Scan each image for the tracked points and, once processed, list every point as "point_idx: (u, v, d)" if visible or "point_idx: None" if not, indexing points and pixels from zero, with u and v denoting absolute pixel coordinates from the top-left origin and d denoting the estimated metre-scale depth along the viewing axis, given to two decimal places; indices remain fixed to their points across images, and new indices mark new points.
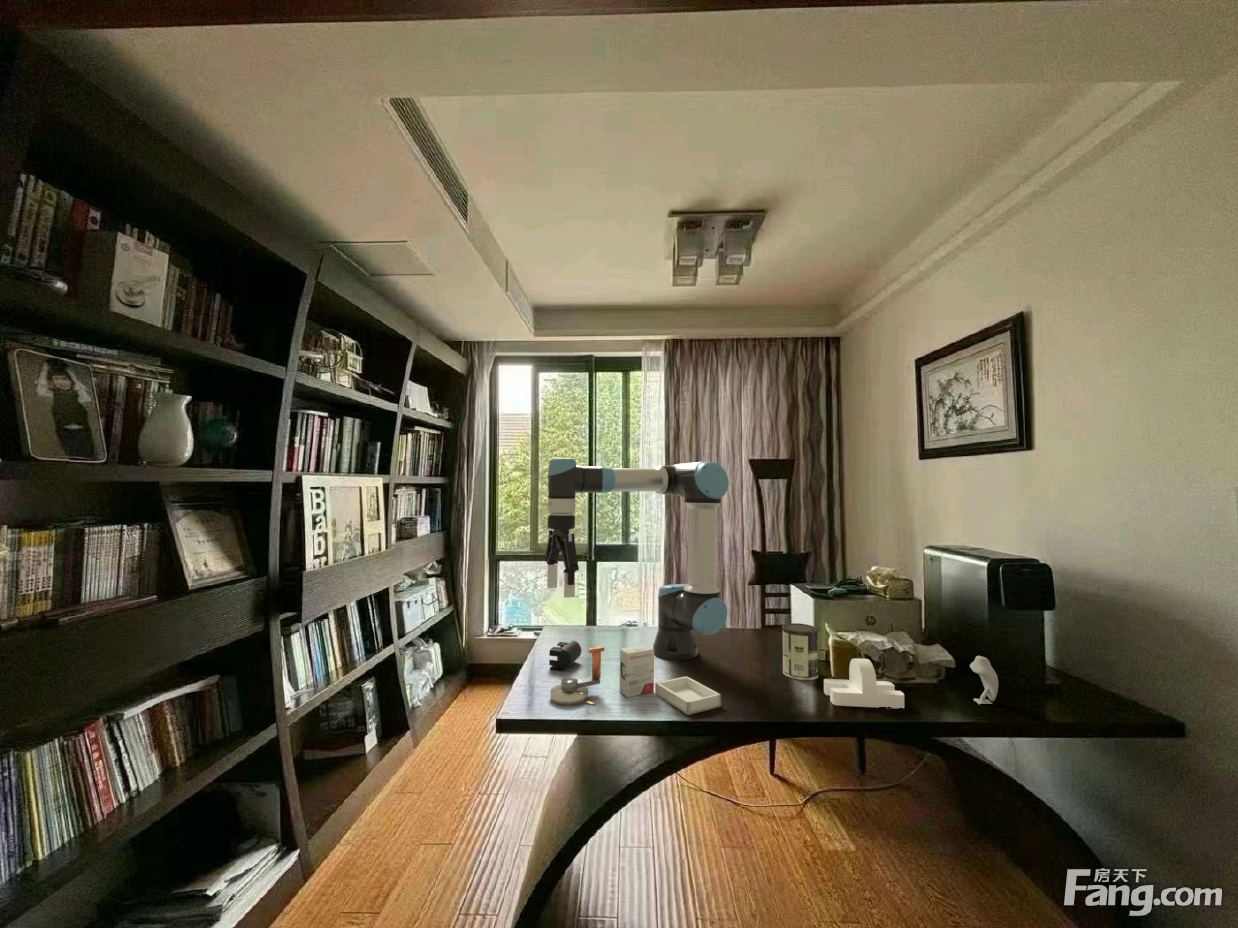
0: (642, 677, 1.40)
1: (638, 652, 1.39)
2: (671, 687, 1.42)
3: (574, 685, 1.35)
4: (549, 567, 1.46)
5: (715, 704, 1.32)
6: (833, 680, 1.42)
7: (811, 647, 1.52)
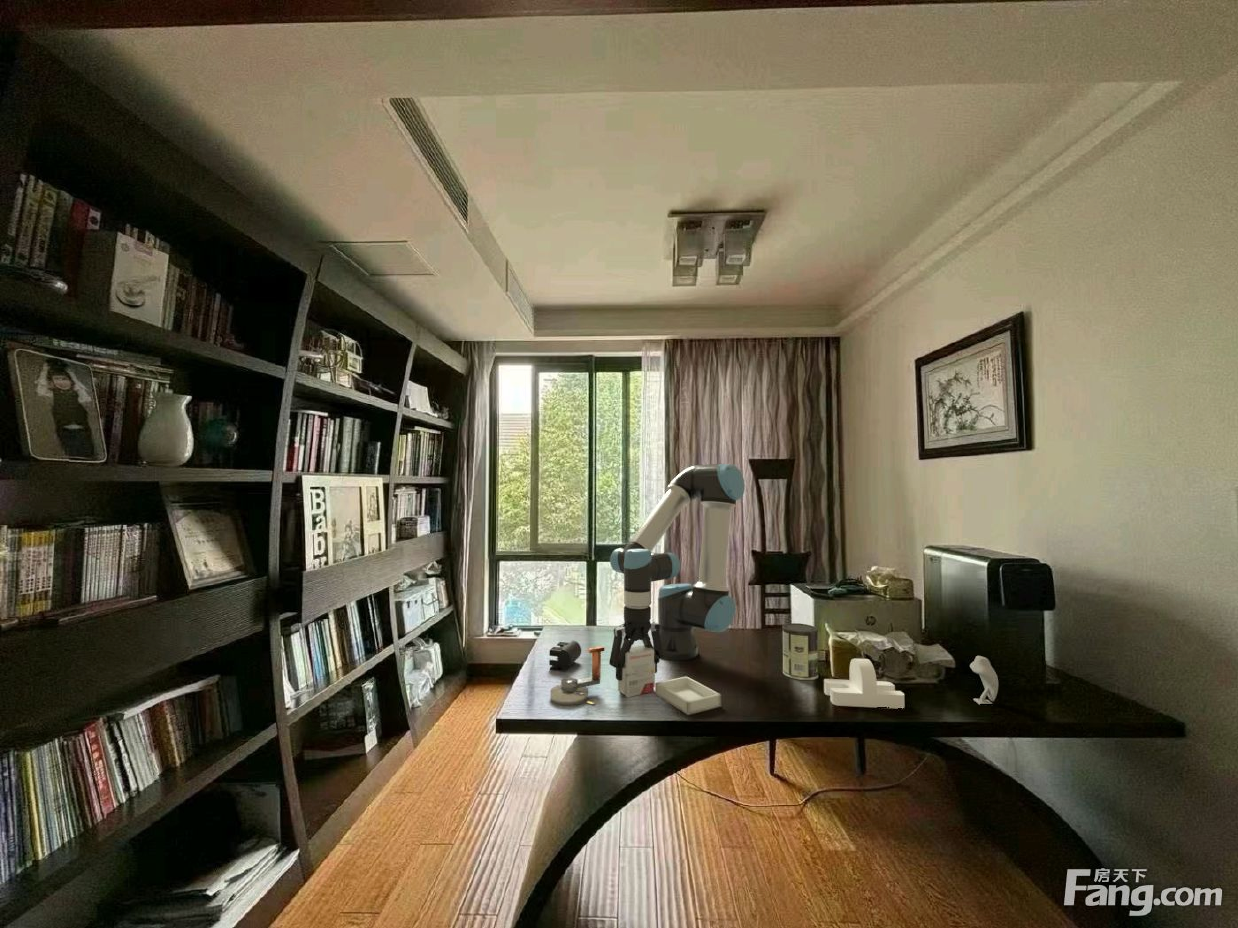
0: (642, 677, 1.40)
1: (638, 652, 1.39)
2: (671, 687, 1.42)
3: (574, 685, 1.35)
4: None
5: (715, 704, 1.32)
6: (833, 680, 1.42)
7: (811, 647, 1.52)
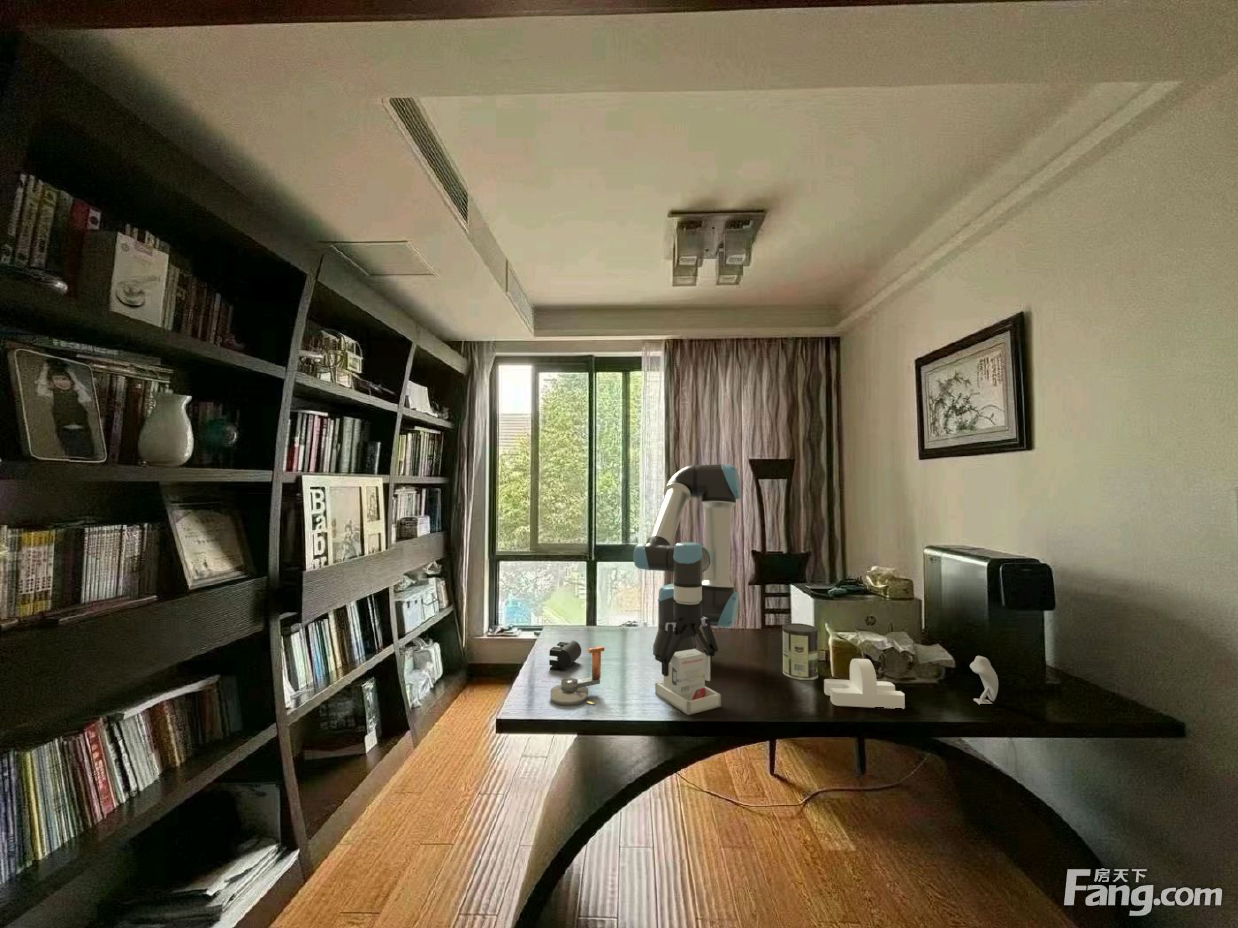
0: (694, 682, 1.34)
1: (690, 657, 1.34)
2: None
3: (574, 685, 1.35)
4: None
5: (715, 704, 1.32)
6: (834, 680, 1.42)
7: (811, 647, 1.52)
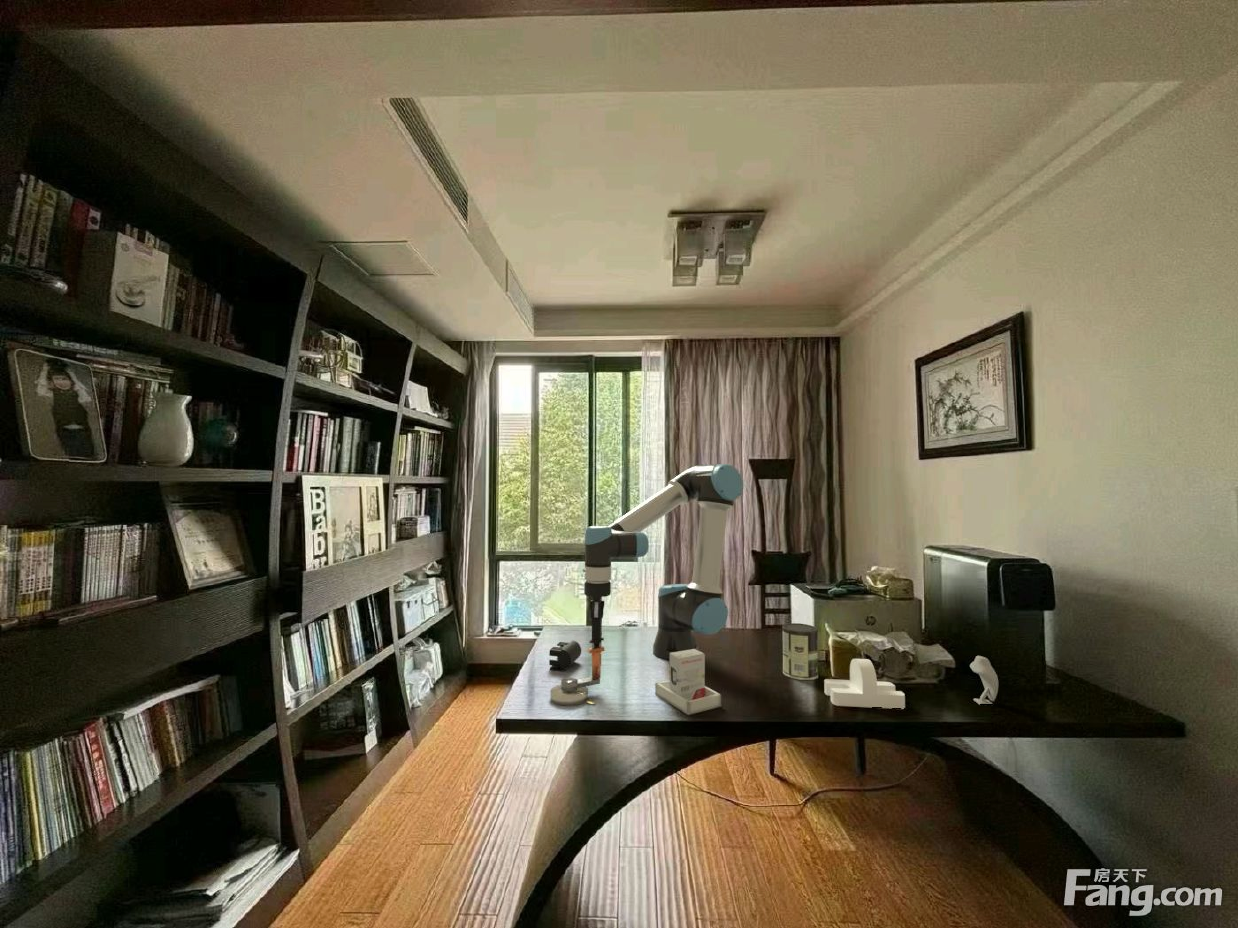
0: (694, 682, 1.34)
1: (689, 656, 1.34)
2: None
3: (574, 685, 1.35)
4: None
5: (715, 704, 1.32)
6: (834, 680, 1.42)
7: (811, 647, 1.52)
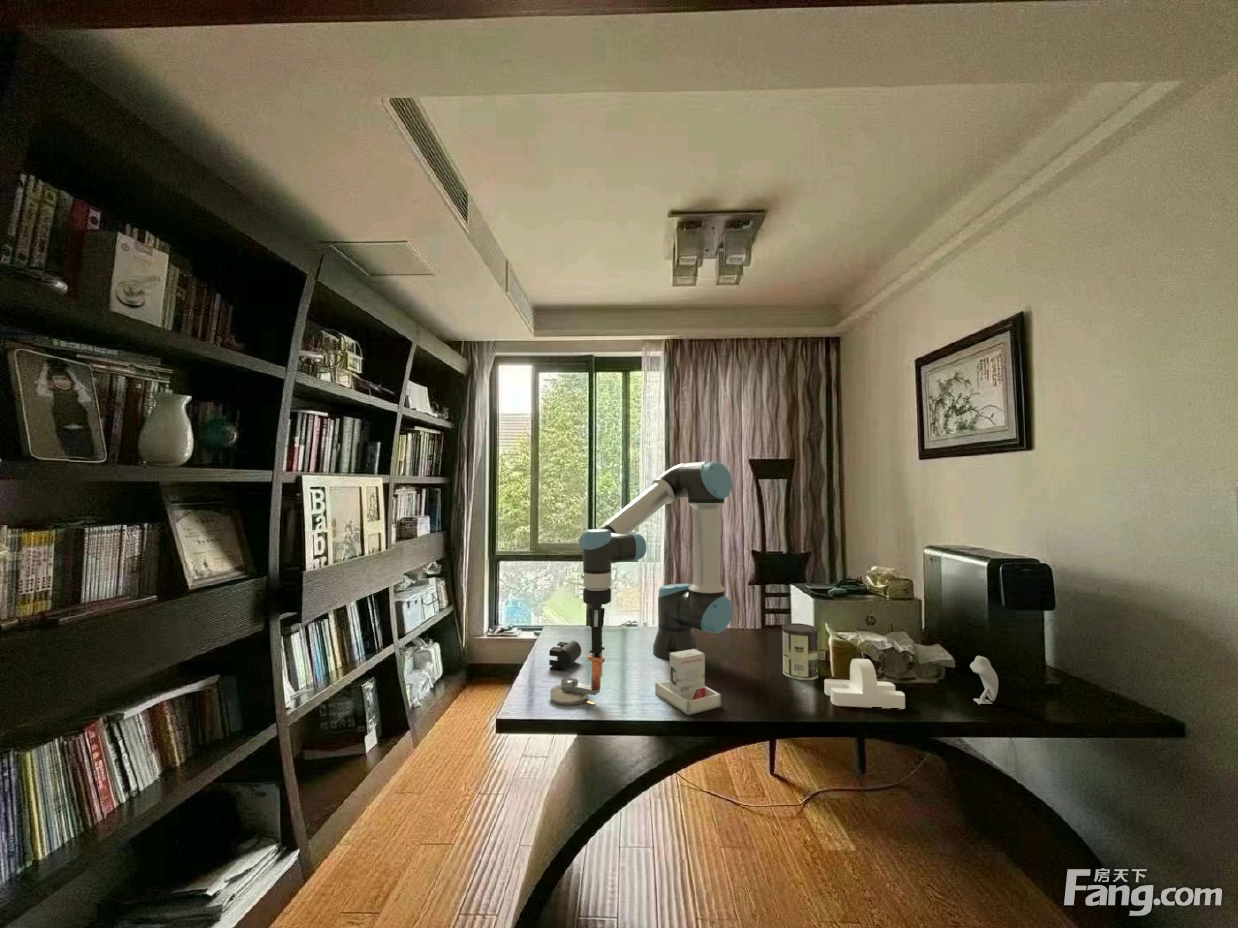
0: (694, 682, 1.34)
1: (689, 656, 1.34)
2: None
3: (566, 686, 1.35)
4: (593, 654, 1.37)
5: (715, 704, 1.32)
6: (834, 680, 1.42)
7: (811, 647, 1.52)
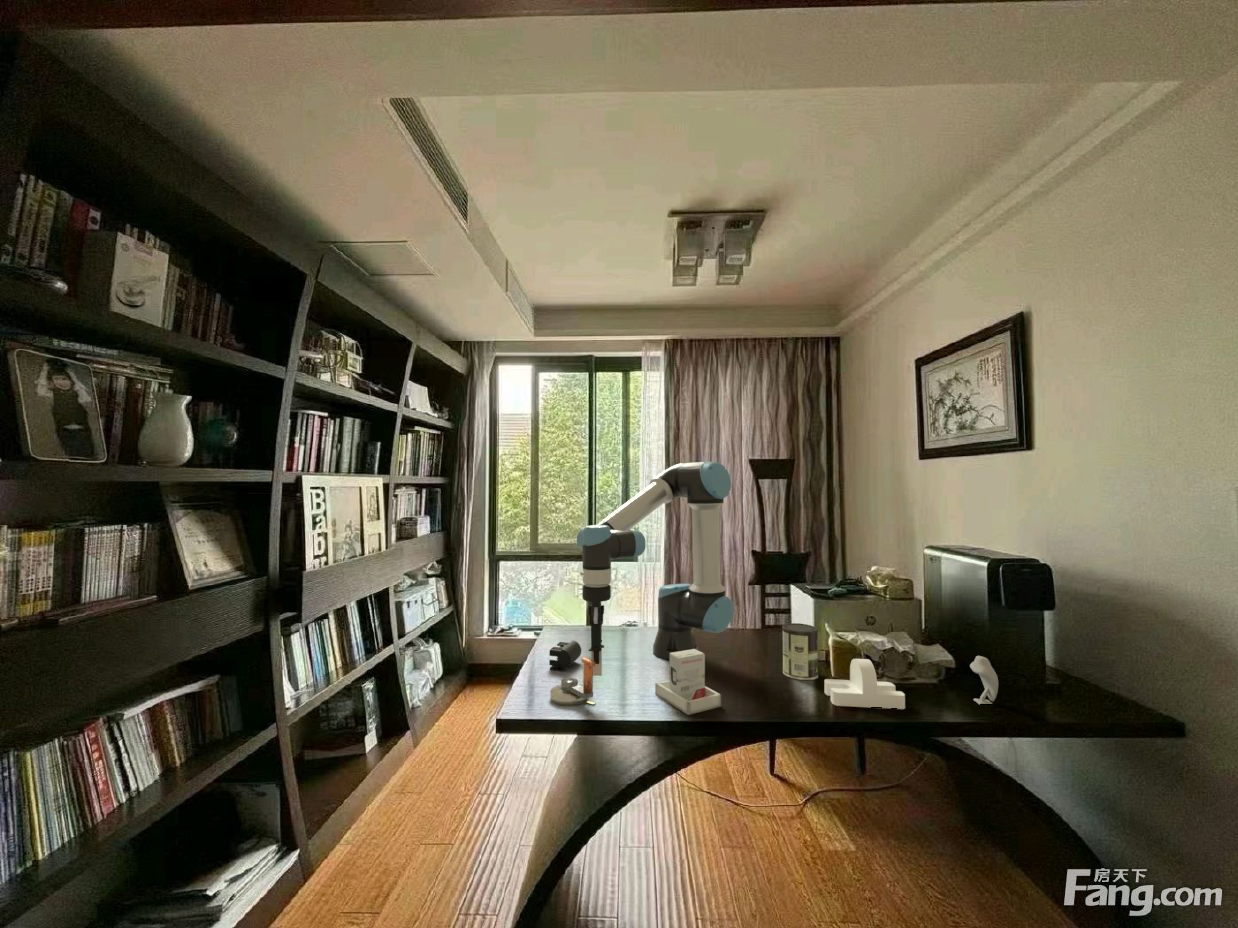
0: (694, 682, 1.34)
1: (689, 656, 1.34)
2: None
3: (563, 685, 1.35)
4: None
5: (715, 704, 1.32)
6: (834, 680, 1.42)
7: (811, 647, 1.52)
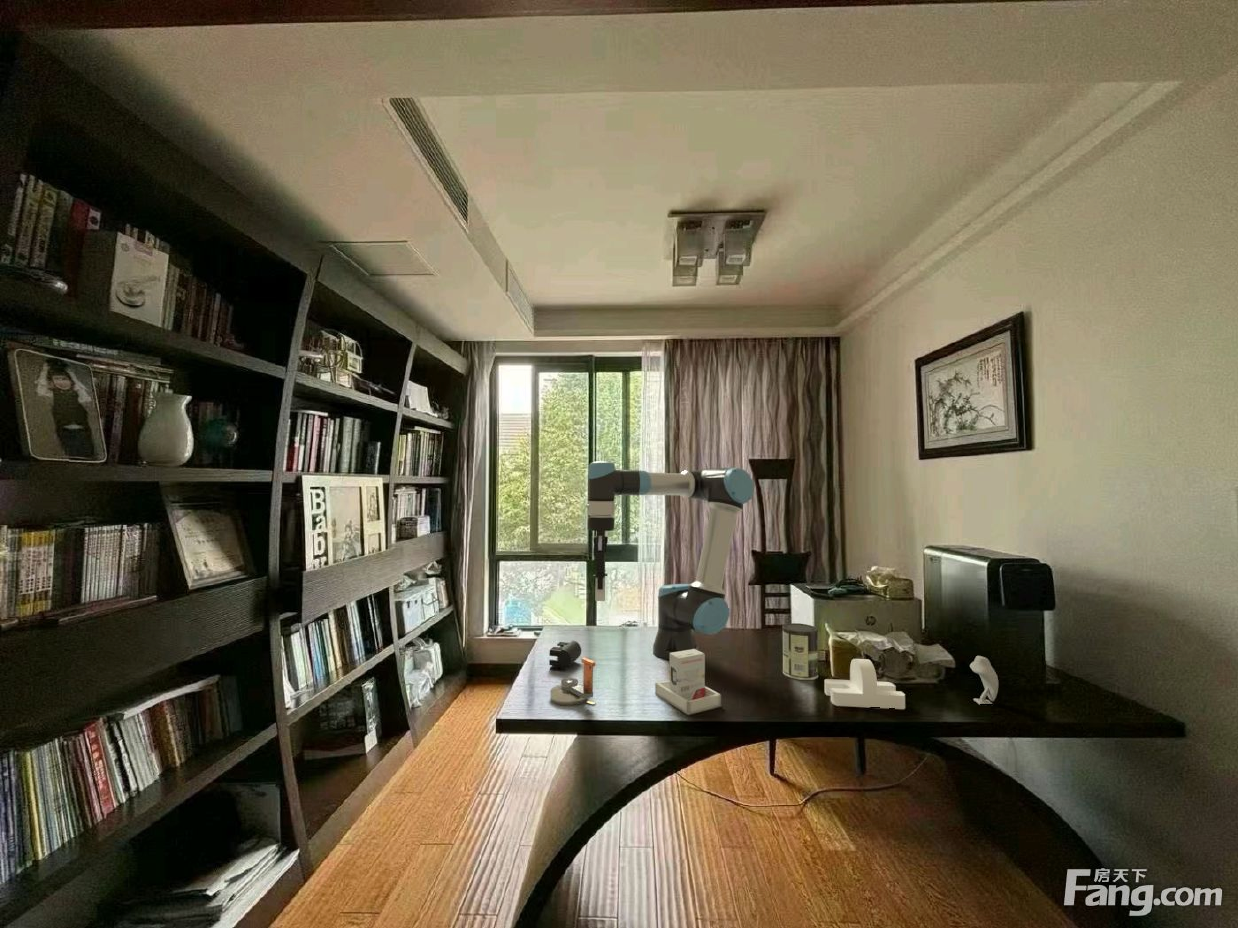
0: (694, 682, 1.34)
1: (689, 656, 1.34)
2: None
3: (563, 685, 1.35)
4: None
5: (715, 704, 1.32)
6: (834, 680, 1.42)
7: (811, 647, 1.52)
